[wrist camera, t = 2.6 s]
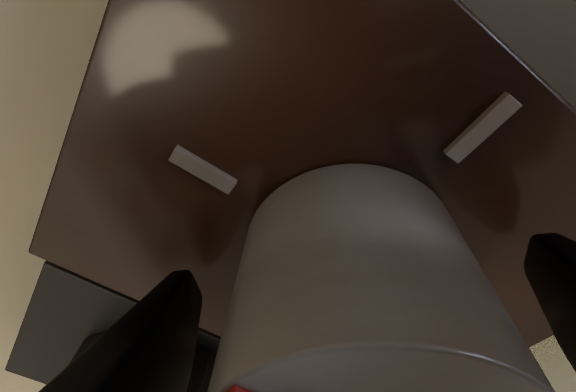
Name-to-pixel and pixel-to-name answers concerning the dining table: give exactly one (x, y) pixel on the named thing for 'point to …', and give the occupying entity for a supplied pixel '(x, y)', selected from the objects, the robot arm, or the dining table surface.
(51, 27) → the dining table surface
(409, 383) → the dial
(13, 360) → the button box
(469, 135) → the dial panel
